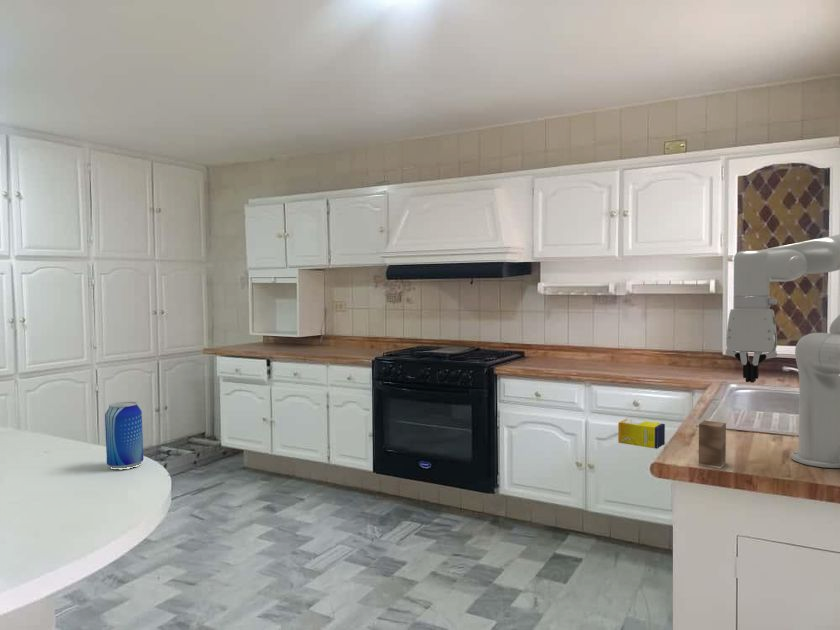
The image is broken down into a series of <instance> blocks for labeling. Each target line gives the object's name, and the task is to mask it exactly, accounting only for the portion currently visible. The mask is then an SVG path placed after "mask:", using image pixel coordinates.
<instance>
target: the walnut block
mask: <svg viewBox="0 0 840 630" xmlns="http://www.w3.org/2000/svg"><path fill="white" fill-rule="evenodd" d="M726 440H727V423H726V422H720V421H719V422H718V421H712V420H703V421H701V422H700V423H698V465H699V466H703V465H704V466H705V467H710V468H711V467H712V468H716V467H717V468H718V469H722V467H724V465H726V460H727V459H726V457H727V455H726V453H727V452H726V451H727V446H726V445H727V444H726V443H727V441H726Z"/></svg>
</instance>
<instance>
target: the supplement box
mask: <svg viewBox="0 0 840 630" xmlns="http://www.w3.org/2000/svg"><path fill="white" fill-rule="evenodd" d="M617 428H618V433H617V435H618V437H617V439H618V440H617V441H618V443H619V444H626V445H632V446H637V447H644V448H651V449H656V450H658V449H659V448H661V447H662V446H665V445H666V443H665V442H666V441H665V438H666V434H665V432H666V424H665V423H661V422H660V423H659V422H652V421H647V420H646V421H645V420H639V419H638V420H637V419H631V418H625V419H623V420H621V421H619V422H618V427H617Z"/></svg>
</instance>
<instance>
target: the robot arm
mask: <svg viewBox="0 0 840 630" xmlns="http://www.w3.org/2000/svg"><path fill="white" fill-rule="evenodd" d="M836 271H840V234H835V235H829V236H824V237H820V238H815V239H810V240H805V241H800V242H797V243H796V242H795V243H791V244H786V245H779V246H774V247H769V248H763V249H760V250H742V251H738V252H736V253H735V255H734V257H733V300H732V301H733V308H732V309H730V311H729V316H728V320H727V328H726V338H725V339H726V340H725V341H726V342H725V343H726V344H725V345H726V349H725V354H726V356H729V357H733V358H736V359H737V360H738V361H739V362H740V363H741V365H742V377H743V379H745V382H746V383H755V382H756V381H757V380H758V379H759V365H760V364H761V363H762V362H763V361H765V360H768V359H769V360H770V359H774V358H777V357H778V353H777V347H778V346H777V345H778V339H777V338H778V336H777V335H778V334H777V322H776V315H775V311H774V309H770V307H771V306H774V305H776V306H777V304H778V299H777V298H773V297H771V295H770V292H771V290H770V287H771V282H778V283H781V282H782V283H783V282H785V283H786V282H792V281H796V280H798V279H799V278H801V277H802V276H803V275H815V274H825V273H832V272H836ZM794 351H795V352H794V356H795V361H796V362H795V363H796V366H797V371H798V372H797V373H798V381H799V383H798V384H799V385H798V386H799V389H798V390H799V391H798V392H799V394H798V395H799V397H798V401H799V402H798V404H799V405H798V450H794V451H792V452H791V454H790V458H791V459H792V460H793V461H795V462H797V463H800V464H803V465H806V466H810V467H818V468H827V469H840V314H839V315H837V317H835V319H833V320H832V322H831V323H830V327H829V332H828V333H827V332H812V333H807V334H805V335H803V336H802V337H801V338H800V339H799V340H798V341H797V344H796V345H795V350H794ZM749 353H753V356H752V357H753V358H752V362H751V361H750V357H749Z"/></svg>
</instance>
